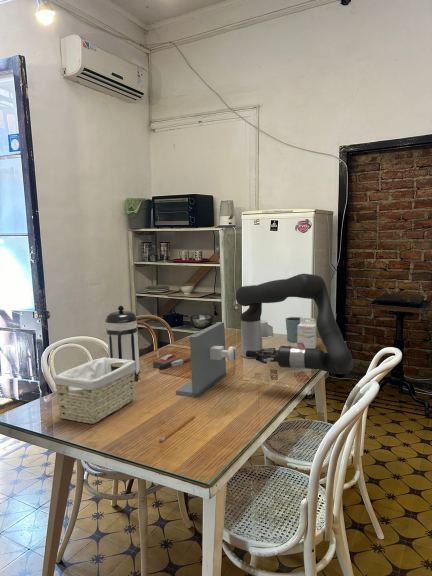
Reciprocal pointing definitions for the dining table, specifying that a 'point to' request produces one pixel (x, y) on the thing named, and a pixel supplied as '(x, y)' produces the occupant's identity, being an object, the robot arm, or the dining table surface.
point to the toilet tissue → (266, 329)
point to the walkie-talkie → (169, 362)
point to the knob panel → (205, 360)
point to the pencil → (176, 429)
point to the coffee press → (123, 337)
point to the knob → (229, 353)
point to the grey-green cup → (292, 328)
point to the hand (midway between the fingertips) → (246, 353)
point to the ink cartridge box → (306, 333)
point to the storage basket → (95, 389)
